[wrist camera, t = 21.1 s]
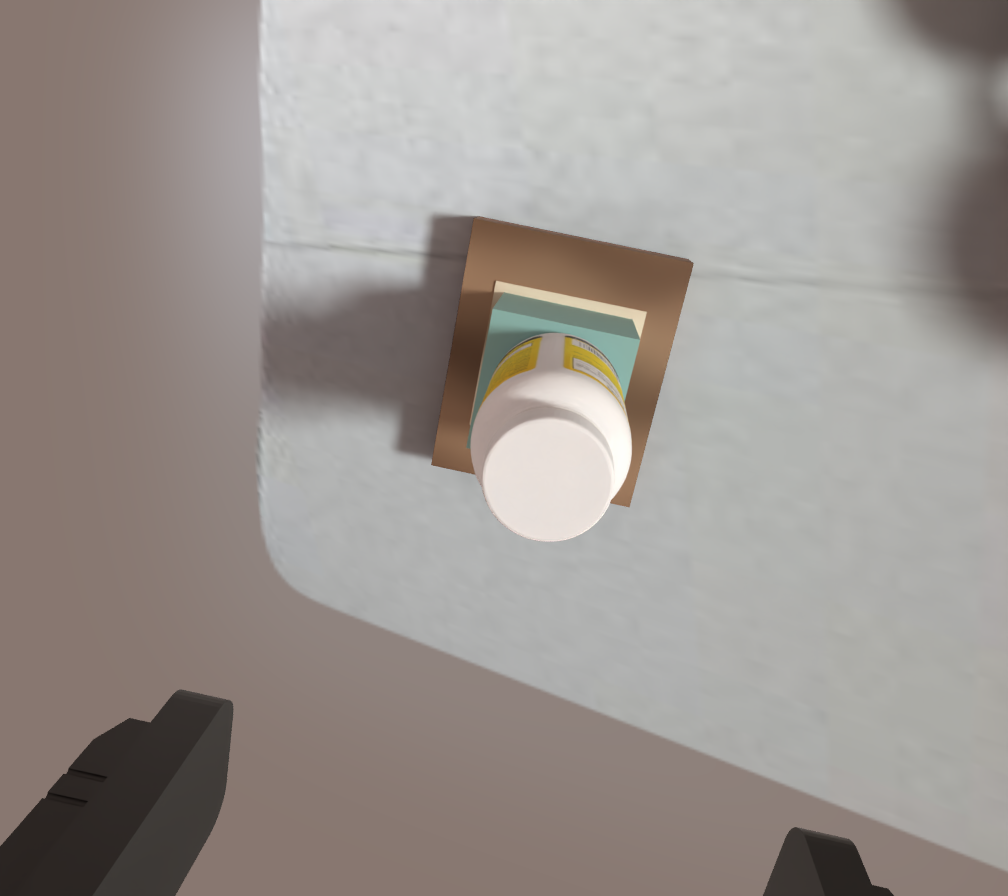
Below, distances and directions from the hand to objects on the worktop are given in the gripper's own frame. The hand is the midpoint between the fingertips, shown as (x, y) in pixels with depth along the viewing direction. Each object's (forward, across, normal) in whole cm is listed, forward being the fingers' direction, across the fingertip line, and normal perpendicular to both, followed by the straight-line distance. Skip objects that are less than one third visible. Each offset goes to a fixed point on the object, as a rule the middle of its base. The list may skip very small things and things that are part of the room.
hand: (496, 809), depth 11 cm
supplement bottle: (+23, 0, 0) cm, 23 cm away
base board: (+30, 0, 0) cm, 30 cm away
